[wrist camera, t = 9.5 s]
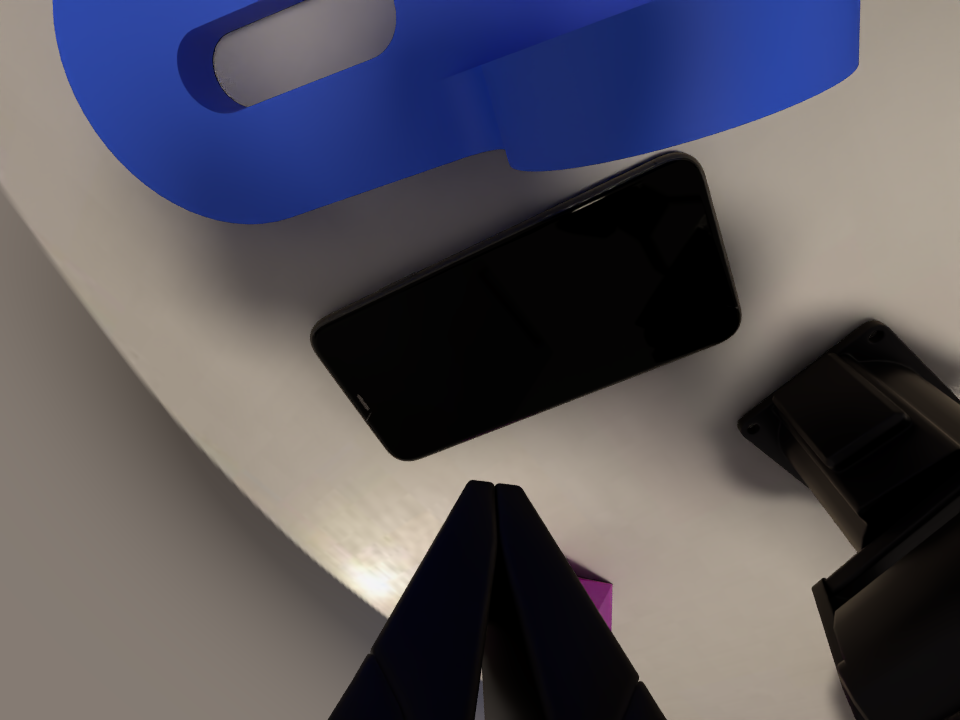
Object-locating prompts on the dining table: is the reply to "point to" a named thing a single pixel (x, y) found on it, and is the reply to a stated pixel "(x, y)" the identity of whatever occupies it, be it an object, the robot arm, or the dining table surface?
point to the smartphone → (538, 312)
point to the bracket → (438, 90)
